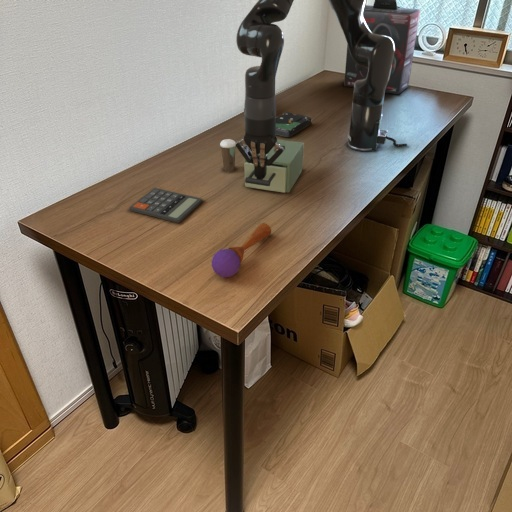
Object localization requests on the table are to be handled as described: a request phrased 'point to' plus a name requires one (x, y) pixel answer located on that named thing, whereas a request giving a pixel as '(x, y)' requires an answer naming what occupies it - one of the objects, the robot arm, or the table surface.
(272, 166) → the drawer
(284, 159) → the cabinet
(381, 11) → the headset box
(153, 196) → the calculator
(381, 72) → the robot arm
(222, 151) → the milkshake
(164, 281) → the table surface
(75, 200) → the table surface
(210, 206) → the table surface
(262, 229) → the kendama
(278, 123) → the disk drive
